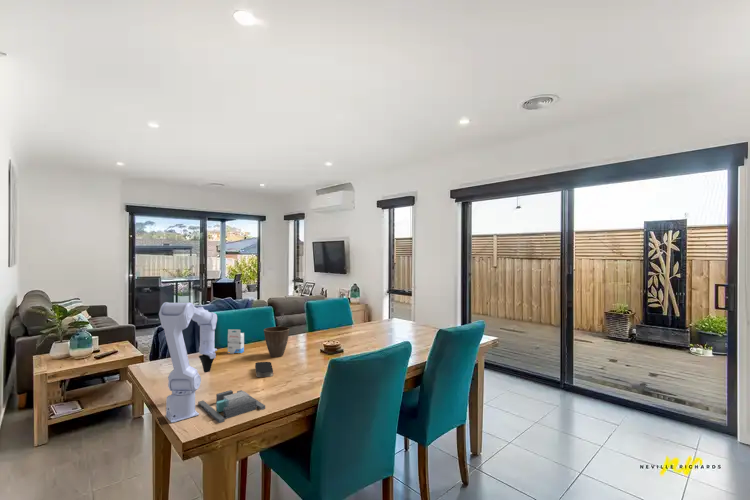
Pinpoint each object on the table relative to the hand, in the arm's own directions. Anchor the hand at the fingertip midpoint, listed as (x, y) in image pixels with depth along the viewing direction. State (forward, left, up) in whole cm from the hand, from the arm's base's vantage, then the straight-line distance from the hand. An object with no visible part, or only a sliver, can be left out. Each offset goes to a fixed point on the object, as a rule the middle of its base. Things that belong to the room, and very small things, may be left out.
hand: (206, 371), depth 155 cm
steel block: (+3, -23, -11) cm, 25 cm away
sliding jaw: (+3, -15, -10) cm, 18 cm away
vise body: (+3, -18, -10) cm, 21 cm away
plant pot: (+52, +35, -11) cm, 64 cm away
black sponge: (+32, +12, -11) cm, 36 cm away
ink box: (+37, +58, -11) cm, 70 cm away
